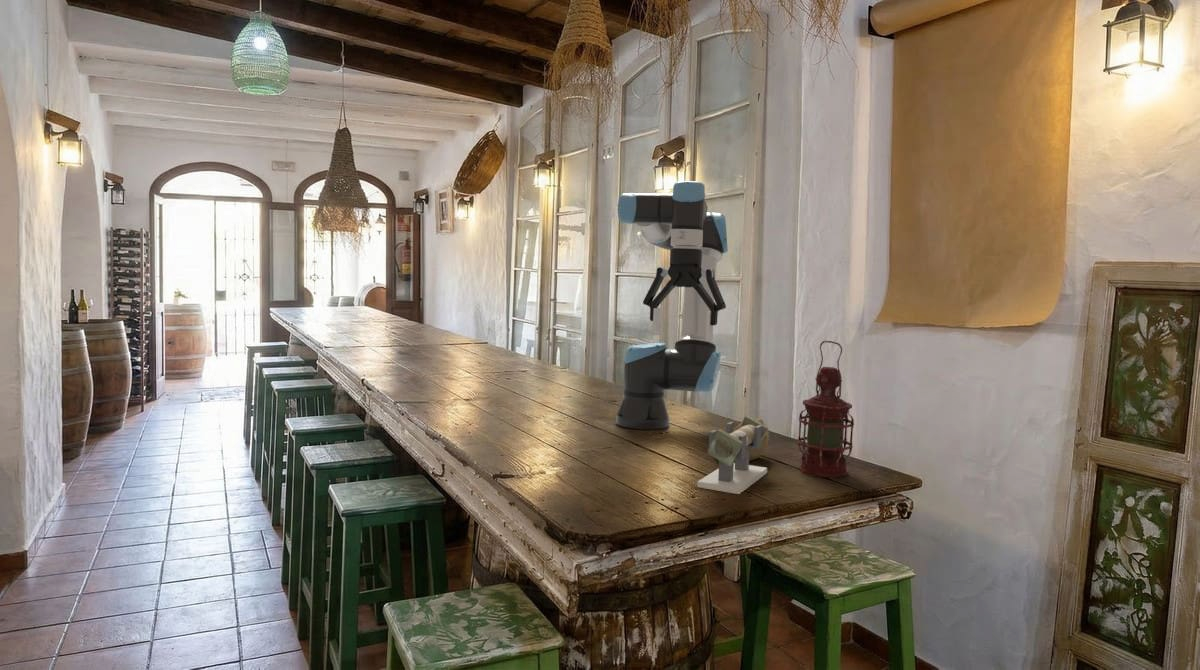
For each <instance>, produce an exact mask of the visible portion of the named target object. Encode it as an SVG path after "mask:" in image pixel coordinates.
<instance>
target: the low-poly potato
mask: <svg viewBox="0 0 1200 670" xmlns="http://www.w3.org/2000/svg"><path fill="white" fill-rule="evenodd" d="M752 418H753V419H755V420H756V421H758V422H760V423H762V424H764V425H766V424H765V422H764V421H763V419H762V418H755V417H752ZM742 422H743V421H741V422H740V423H739V424H738V425H737V426H736V425H735V426H734V430H733V432H734V431H736V430H738V429H739V428H740V426H741V424H742ZM719 429H721V430H723V431H725V432H726V425H725V426H724V425H721V426H720V427H719V428H718V429H717V431H718V430H719ZM769 442H770V431H769V428H768V429H767V431H766V433H765V435H764V437H763V439H762V441H761V448H760V449H758V450H751V449H750V452H749V462H750V461H753V460H756V459H758V458H760V456H761V455H763V453H764V452H765V451H766V450H767V447H768V444H769Z"/></svg>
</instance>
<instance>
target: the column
mask: <svg viewBox="0 0 1200 670" xmlns="http://www.w3.org/2000/svg"><path fill="white" fill-rule="evenodd" d="M753 418H754V417H751V416H749V415H745V416H744V418H743V420H742V421H741V422H742V424H741V426H740V428H739V429H738V430H736V431H734V432H732V433H730V434H728V433H726V432H725V431H723V430H721V429H719V428H718V429H719V430H718V429H717V430H718V431H717V433H716V435H715V437H714V439H713V441H712V443H711V446H710V448H709V447H708V449H709V450H708V449H707V455H708V454H710V455H711V456H710V457H713V458H715V459H716V460H718V461H719V460H720V461H722V462H723V463H725V464H727V465H728V466H731V465H732V464H733V462H734V463H735V458H736V456H737V454H738V452H739V450H740V448H741V446H742V443H743V442H742V441H741V440H739V436H740V435H742V434H747V437H746V446H747V445H749V444H751V443H754V428H755V427H756V426H758V425H760V426H762V431H761V441H762V439H763V437H764V435H765V433H766V431H767V429H768V430H769V427H768V425H766V424H765V423H764V424H765V425H764V424H762V423H760V422H758V421H756V420H755V419H753Z"/></svg>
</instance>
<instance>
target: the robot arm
mask: <svg viewBox="0 0 1200 670" xmlns="http://www.w3.org/2000/svg"><path fill="white" fill-rule="evenodd" d="M705 191H706V189H705V184H704V183H703V182H701V181H688V180H687V181H676V182H675V183H674V184H673V187H672V193H642V192H641V193H637V192H636V193H635V192H630V193H627V192H625V193H621V194H620V195H619V197H618V201H617V217H618V221H619V222H620V223H622V224H629V225H631V224H635V225H636V226H637V227H638V228H639V229H640V232H641V235H642V237H643V238H644V239H645V240H646V241H647V242H648V243H650V244H652V245H653V246H656V247H658V248H660V249H664V250H668V251H669V268H665V267H661V266H658V267H657V269H656V273H655V278H654V279H653V281H652V283H651V285H650V288H649V289H648V290H647V293H646V295H645V297H644V299H643V301H642V304H643V305H645V306H647V307H649V309H650V311H649V319H650V322H652V336H659V335H661V320H662V319H661V318H662V317H661V315H662V313H661V311H662V308H661V307H660V304H661V303H662V302H663V301H664V300H665V299H666V298H667V297H668V296H669V294H670V293H671V292H672V291H673V289H675V288H676V287H677V288H684V293H683V294H684V295H683V308H682V321H681V332H680V333H681V334H680V338H679V339H677V340H676V341H675V342H674V348H668V345H667V343H665V342H653V343H652V342H651V343H649V342H648V343H641V344H635V345H631V346H629V347H627V348H626V350H625V355H624V356H625V357H624V363H623V364H624V370H623V372H624V373H623V375H624V376H623V396H622V400H621V403H620V405H619V408H618V410H617V414H616V417H615V418H616V419H615V420H616V421H615V423H616V425H617V426H620V427H623V428H627V429H628V428H629V429H635V430H660V429H661V430H662V429H666V428H668V427H669V426H670V415H669V412H668V409H667V405H666V401H665V391H666V390H668V391H680V392H694V393H699V392H700V393H709V392H712V391H713V390H714V388H715V386H716V383H717V379H718V375H719V370H720V363H721V352H720V351H718V350H716V349H717V345H716V344H715V343H714V341H713V339H714V338H713V336H714V326H716V325H717V324H718V315H719V312H720V311H722V310H724V309H726V308H727V306H726V303H725V300H724V298H723V296H722V293H721V290H720V288H719V286H718V284H717V281H716V274H717V263H718V262H720V261H721V260H722V259H723V254H725V253H728V236H727V234H728V233H727V222H726V221H727V220H726V215H724V213H721V212H711V211H708V204H707V202H706V200H705V198H706V192H705ZM667 275H668V277H669V278H670V279H669V280H668V281H667V283H666V284H665V285H664V287H663V288H662V290H661V291H660V292H659V293H658V291H659V289H660V287H661V285H662V283H663V280H664V279H665V278H666V277H667ZM657 293H658V294H657Z"/></svg>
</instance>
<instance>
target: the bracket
mask: <svg viewBox="0 0 1200 670" xmlns="http://www.w3.org/2000/svg"><path fill="white" fill-rule="evenodd" d="M734 425H735V422H734V421H729V422H727V423H726V424H725V426H726V433H728V434H730V433H732V432H733V430H734ZM717 430H718V429H717ZM717 430H716V429H712V430H711V431H709V433H708V434H709V435H708V449H707V451H708V450H709V448H710V446H711V443H712V441H713V439H714V437H715V435H716V433H717ZM761 431H762V426H760V425H758V426H756V427H755V428H754V443H751V444H749V445H747V446H746V437H747V434H742V435H740V436H739V440H741V441H742V442H743V443H742V446H741V448H740V450H739V452H738V454H737V456H736V458H735V460H734V462H733V464H732V465H731V466H728V465H727V464H725V463H723V462H722V461H720V460H718V468H717V469H716V470H714V471H712V472H711V473H709V474H707V475H705V476H704V477H702V478H700V479H699V480H698V481H697V488H701V489H707V490H711V491H712V490H713V491H719V492H724V493H730V494H736V495H740V494H741V492H742V493H743V492H744V491H745V490H747V489H749V487H750V486H752V485H753V484H755V483H756V482H757V481H759V480H760V479H761V478H762V477H764V476H765V475H766V474H767V473H768V467H765V466H758V465H753V464H750V461H749V452H750V449H751V450H758V449H760V448H761ZM707 456H709V457H712V456H711V455H710V454H708V453H707Z"/></svg>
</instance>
